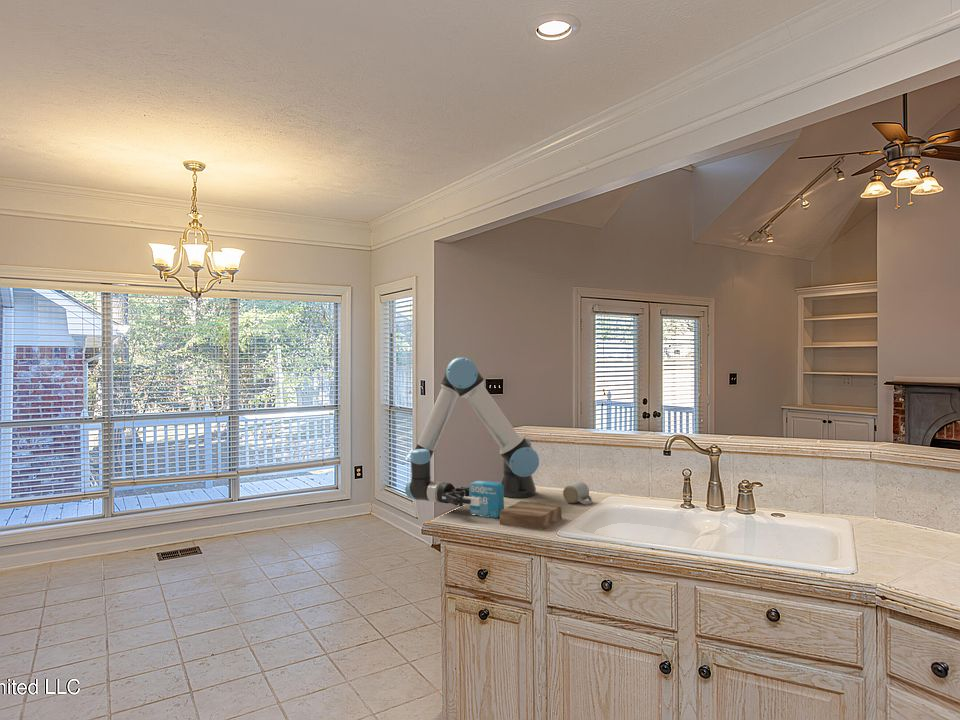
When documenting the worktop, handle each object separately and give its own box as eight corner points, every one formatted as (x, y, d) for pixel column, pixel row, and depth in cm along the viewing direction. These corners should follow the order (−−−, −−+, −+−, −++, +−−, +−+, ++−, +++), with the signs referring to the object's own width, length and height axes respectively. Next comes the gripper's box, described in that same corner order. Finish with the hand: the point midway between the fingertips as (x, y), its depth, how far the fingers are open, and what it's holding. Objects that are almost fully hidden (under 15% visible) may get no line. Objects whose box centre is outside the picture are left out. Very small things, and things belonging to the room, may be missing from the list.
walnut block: (521, 514, 223) (521, 501, 223) (561, 519, 215) (561, 505, 215) (499, 525, 209) (499, 511, 209) (541, 531, 201) (541, 516, 201)
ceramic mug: (561, 502, 238) (561, 483, 237) (573, 498, 244) (573, 479, 244) (584, 507, 231) (584, 487, 230) (596, 502, 237) (596, 483, 236)
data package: (469, 515, 222) (468, 482, 222) (475, 512, 226) (474, 480, 226) (498, 518, 217) (497, 485, 216) (504, 515, 220) (503, 482, 220)
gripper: (460, 495, 242) (506, 501, 231) (421, 509, 221) (470, 516, 210) (459, 476, 242) (505, 481, 231) (421, 489, 221) (470, 494, 210)
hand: (489, 498), depth 221 cm, fingers open, 13 cm apart
